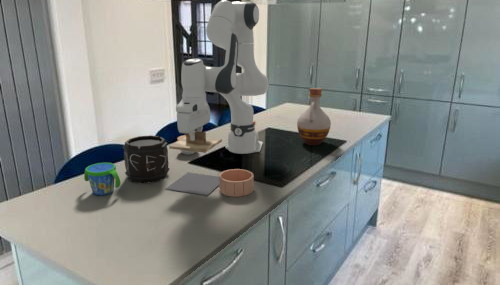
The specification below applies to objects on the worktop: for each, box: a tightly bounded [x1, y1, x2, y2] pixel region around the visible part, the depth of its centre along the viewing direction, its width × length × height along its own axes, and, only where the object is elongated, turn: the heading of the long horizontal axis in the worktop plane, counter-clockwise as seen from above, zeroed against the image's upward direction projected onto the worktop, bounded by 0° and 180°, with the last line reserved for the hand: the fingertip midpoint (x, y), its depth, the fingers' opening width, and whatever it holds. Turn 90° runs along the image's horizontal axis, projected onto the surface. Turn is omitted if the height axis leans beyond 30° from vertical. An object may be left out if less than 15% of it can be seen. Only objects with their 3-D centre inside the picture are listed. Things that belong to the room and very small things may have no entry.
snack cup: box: [83, 162, 121, 197], centre depth 141 cm, size 16×10×10 cm
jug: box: [296, 87, 332, 146], centre depth 198 cm, size 20×18×30 cm
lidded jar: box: [176, 134, 196, 155], centre depth 186 cm, size 11×11×9 cm
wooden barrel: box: [122, 134, 170, 185], centre depth 155 cm, size 18×18×16 cm
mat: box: [165, 172, 219, 197], centre depth 150 cm, size 18×18×1 cm
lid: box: [168, 130, 223, 153], centre depth 144 cm, size 15×15×5 cm
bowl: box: [218, 168, 255, 198], centre depth 144 cm, size 13×13×6 cm
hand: (196, 138), depth 144 cm, fingers closed on lid, 3 cm apart
